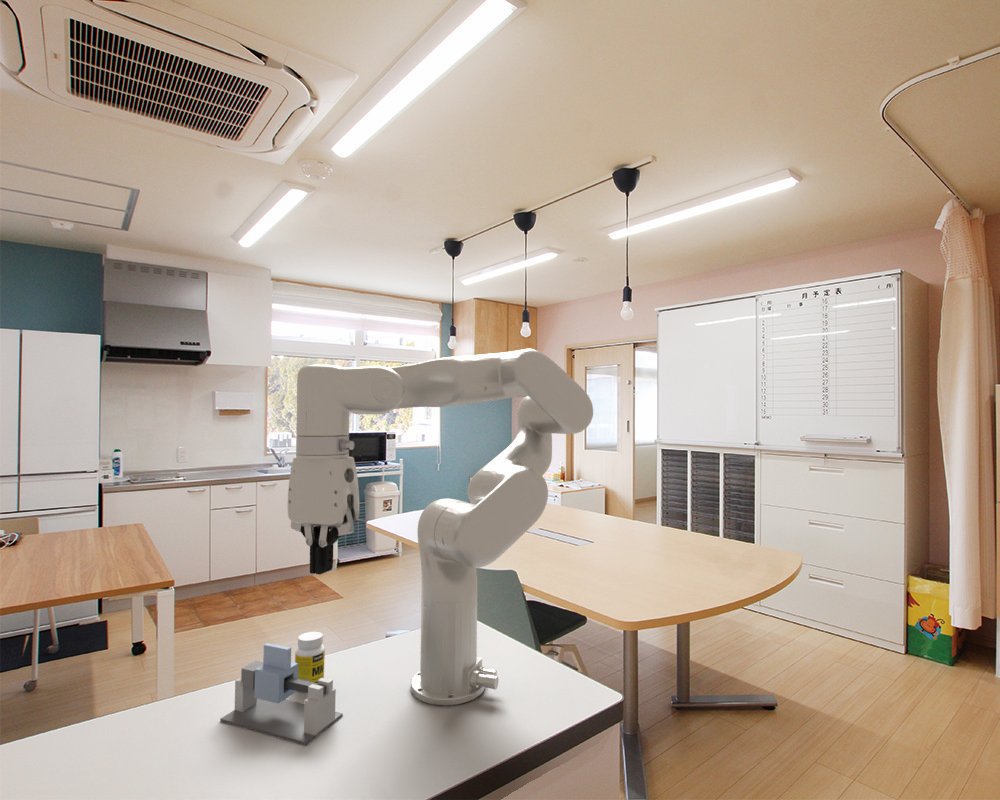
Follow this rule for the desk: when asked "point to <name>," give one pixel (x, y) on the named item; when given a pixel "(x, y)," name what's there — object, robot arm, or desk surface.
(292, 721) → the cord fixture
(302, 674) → the supplement bottle
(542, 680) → the desk surface
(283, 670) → the light blue step block
